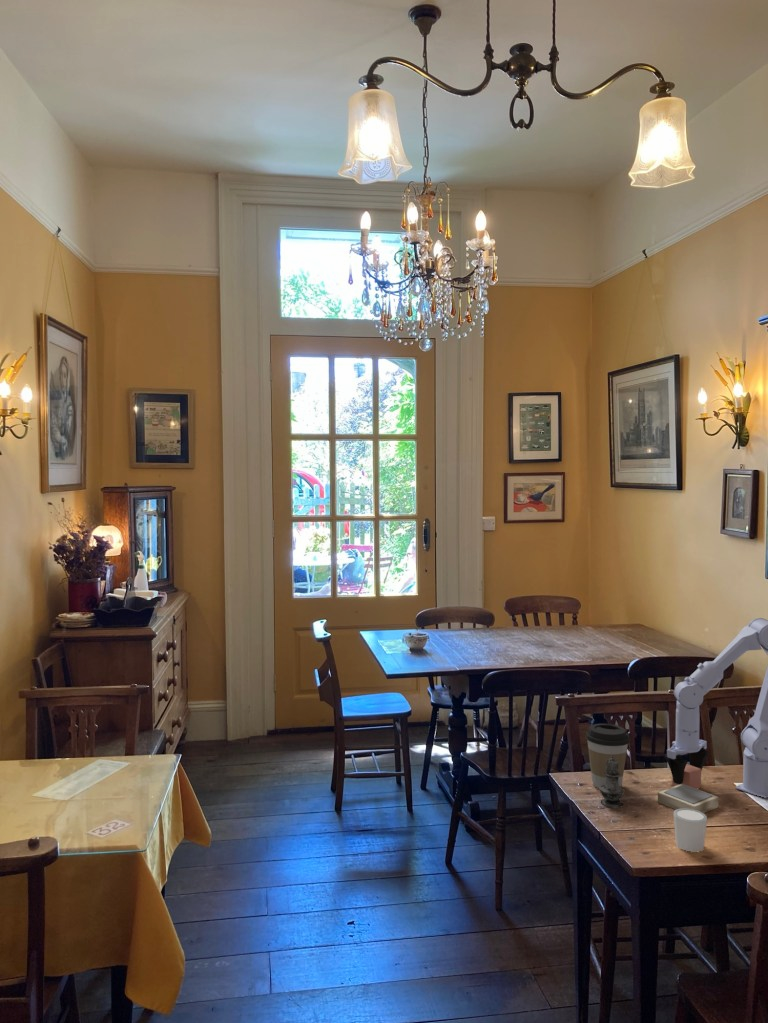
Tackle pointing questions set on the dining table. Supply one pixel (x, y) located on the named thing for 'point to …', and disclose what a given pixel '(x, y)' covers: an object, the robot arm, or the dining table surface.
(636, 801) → the dining table surface
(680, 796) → the base
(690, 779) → the block
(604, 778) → the coffee cup
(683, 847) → the shot glass
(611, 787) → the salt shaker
